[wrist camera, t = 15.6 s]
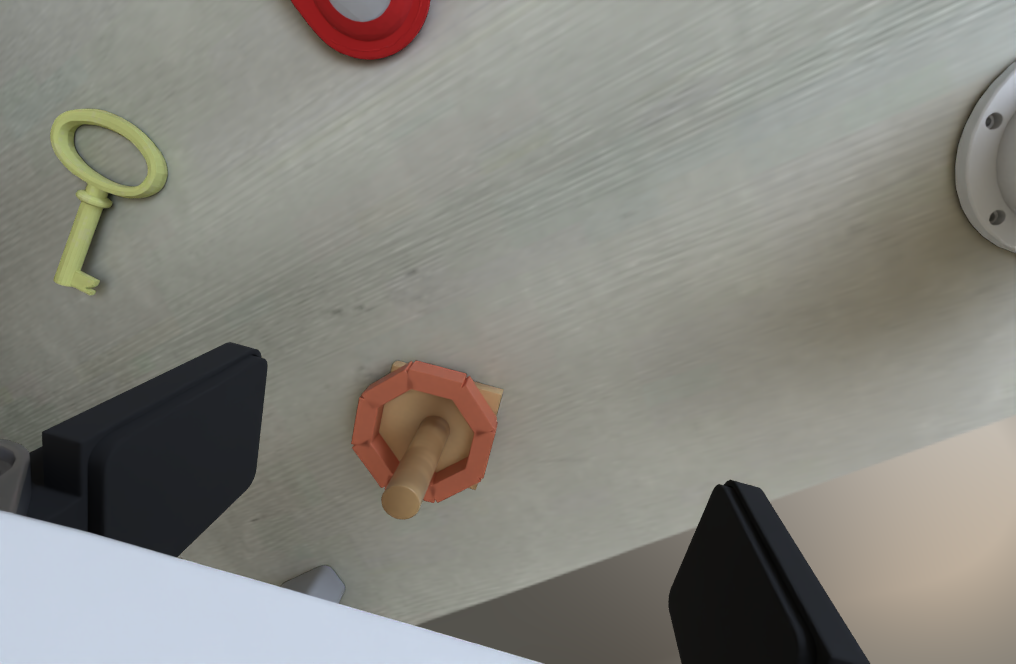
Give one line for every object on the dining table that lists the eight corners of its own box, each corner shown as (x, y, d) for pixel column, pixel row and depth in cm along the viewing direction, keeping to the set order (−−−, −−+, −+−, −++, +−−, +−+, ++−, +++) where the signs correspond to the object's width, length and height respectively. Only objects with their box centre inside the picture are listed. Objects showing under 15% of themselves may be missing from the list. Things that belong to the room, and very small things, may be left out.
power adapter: (276, 586, 44) (179, 729, 32) (327, 562, 43) (245, 701, 31) (297, 613, 45) (210, 762, 33) (348, 590, 44) (276, 737, 32)
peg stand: (503, 389, 37) (486, 460, 28) (477, 482, 40) (453, 578, 30) (396, 360, 37) (342, 421, 28) (376, 455, 40) (320, 541, 30)
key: (76, 284, 38) (49, 290, 36) (64, 103, 34) (33, 98, 32) (172, 302, 38) (150, 309, 36) (169, 122, 34) (145, 118, 32)
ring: (508, 384, 36) (505, 394, 34) (477, 499, 39) (473, 514, 37) (374, 349, 36) (365, 357, 35) (353, 466, 39) (344, 479, 37)
